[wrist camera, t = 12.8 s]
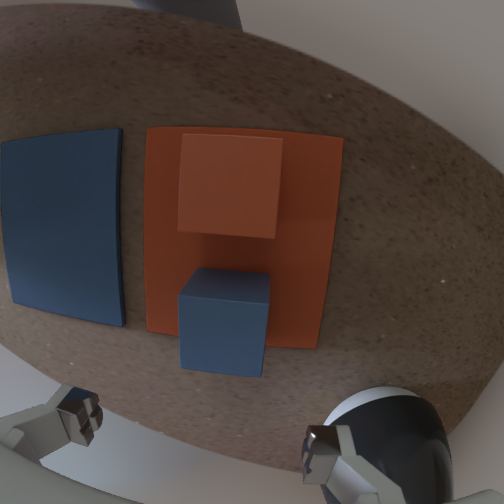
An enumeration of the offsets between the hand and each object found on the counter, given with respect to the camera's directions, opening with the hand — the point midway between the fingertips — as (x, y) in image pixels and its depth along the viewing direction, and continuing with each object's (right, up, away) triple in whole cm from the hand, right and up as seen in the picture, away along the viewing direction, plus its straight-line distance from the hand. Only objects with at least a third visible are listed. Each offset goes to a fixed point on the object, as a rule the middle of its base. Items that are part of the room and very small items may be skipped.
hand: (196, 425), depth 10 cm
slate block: (+1, +3, +10) cm, 11 cm away
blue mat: (-13, +8, +10) cm, 18 cm away
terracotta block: (+1, +11, +8) cm, 13 cm away
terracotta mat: (+1, +7, +10) cm, 12 cm away
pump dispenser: (+12, -7, +13) cm, 19 cm away
